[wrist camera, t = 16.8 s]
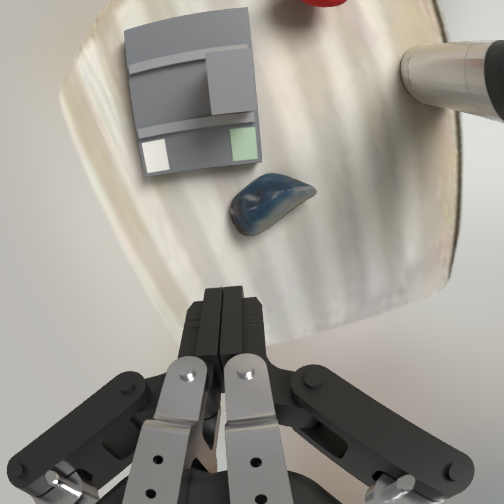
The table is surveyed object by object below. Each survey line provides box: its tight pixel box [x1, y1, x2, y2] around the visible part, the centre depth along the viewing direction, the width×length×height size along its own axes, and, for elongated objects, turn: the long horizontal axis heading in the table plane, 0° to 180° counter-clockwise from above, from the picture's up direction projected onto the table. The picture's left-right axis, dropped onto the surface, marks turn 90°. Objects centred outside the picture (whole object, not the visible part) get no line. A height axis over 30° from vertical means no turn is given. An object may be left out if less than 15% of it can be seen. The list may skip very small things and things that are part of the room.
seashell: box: [230, 173, 317, 236], centre depth 39 cm, size 6×9×10 cm
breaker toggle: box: [205, 48, 257, 115], centre depth 26 cm, size 4×6×7 cm
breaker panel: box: [124, 7, 262, 177], centre depth 31 cm, size 15×20×4 cm
